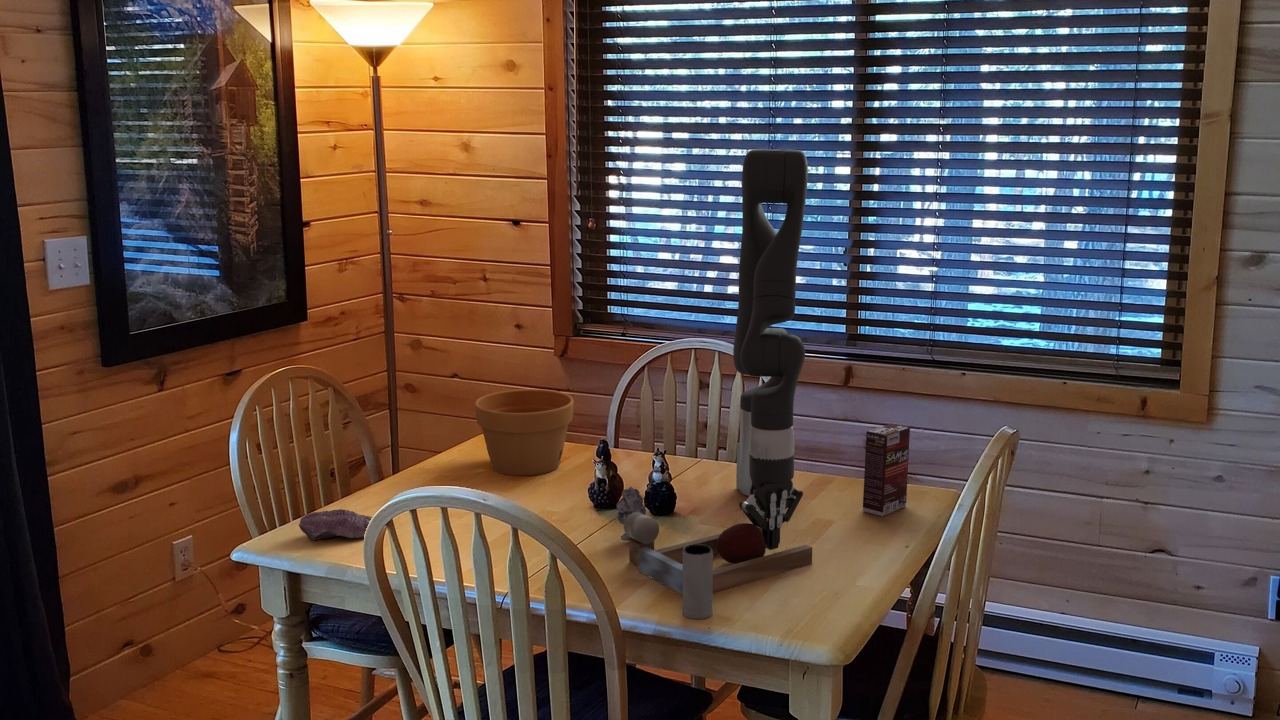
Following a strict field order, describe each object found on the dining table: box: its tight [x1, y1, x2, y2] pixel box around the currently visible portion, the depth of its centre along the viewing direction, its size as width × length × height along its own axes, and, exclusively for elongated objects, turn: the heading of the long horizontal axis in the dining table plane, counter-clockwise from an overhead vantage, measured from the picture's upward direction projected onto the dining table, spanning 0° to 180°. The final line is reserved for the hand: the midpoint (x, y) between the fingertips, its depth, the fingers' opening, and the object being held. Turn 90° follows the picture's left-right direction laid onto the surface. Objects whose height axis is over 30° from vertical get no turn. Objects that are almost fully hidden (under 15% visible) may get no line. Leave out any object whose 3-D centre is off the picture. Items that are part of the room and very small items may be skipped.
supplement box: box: [862, 423, 911, 517], centre depth 227 cm, size 9×5×16 cm, turn 136°
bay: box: [623, 512, 813, 595], centre depth 200 cm, size 19×26×8 cm
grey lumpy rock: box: [615, 486, 647, 542], centre depth 211 cm, size 5×5×10 cm
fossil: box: [298, 509, 373, 541], centre depth 215 cm, size 8×14×5 cm, turn 110°
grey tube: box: [682, 544, 714, 620], centre depth 180 cm, size 4×4×10 cm
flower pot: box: [474, 388, 575, 477], centre depth 256 cm, size 21×21×15 cm
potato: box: [716, 522, 767, 565], centre depth 200 cm, size 7×8×7 cm
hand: (770, 547), depth 204 cm, fingers closed
